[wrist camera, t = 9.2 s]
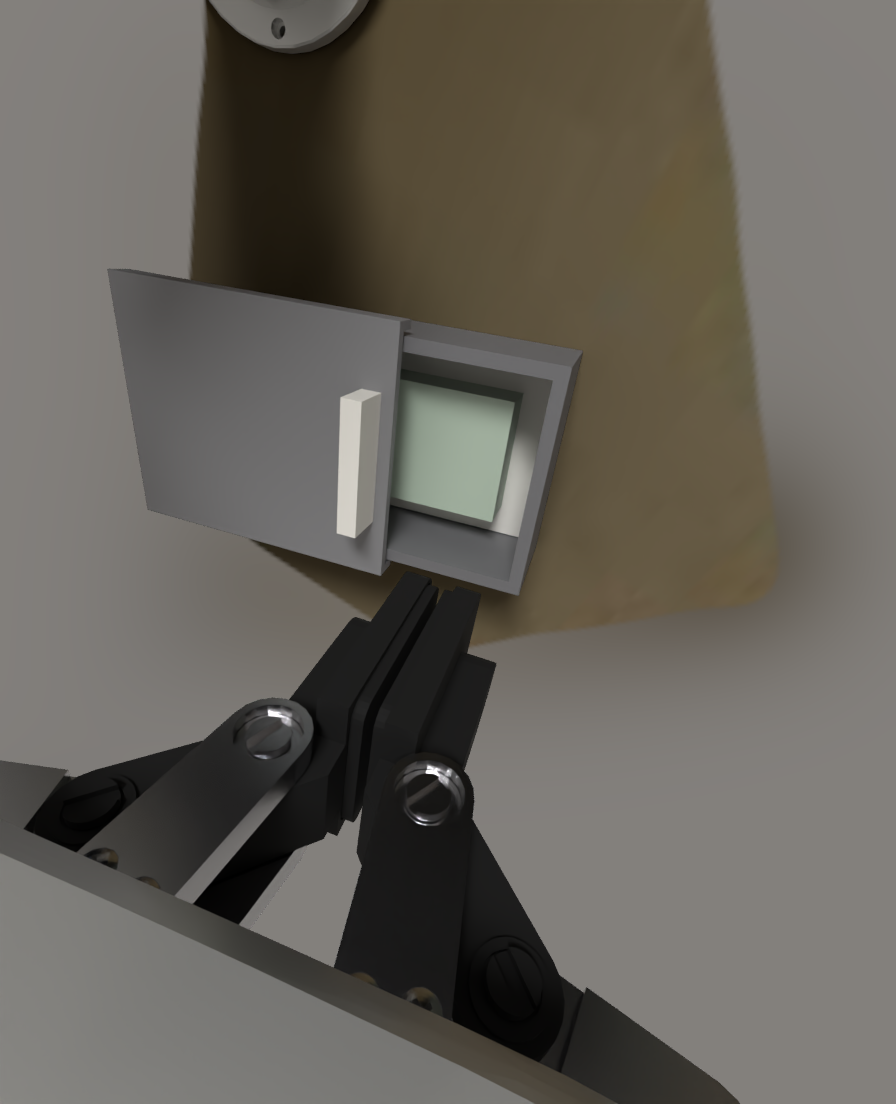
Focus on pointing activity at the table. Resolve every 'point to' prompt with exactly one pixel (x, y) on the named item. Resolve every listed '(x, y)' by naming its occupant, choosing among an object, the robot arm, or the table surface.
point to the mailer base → (473, 541)
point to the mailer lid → (263, 413)
